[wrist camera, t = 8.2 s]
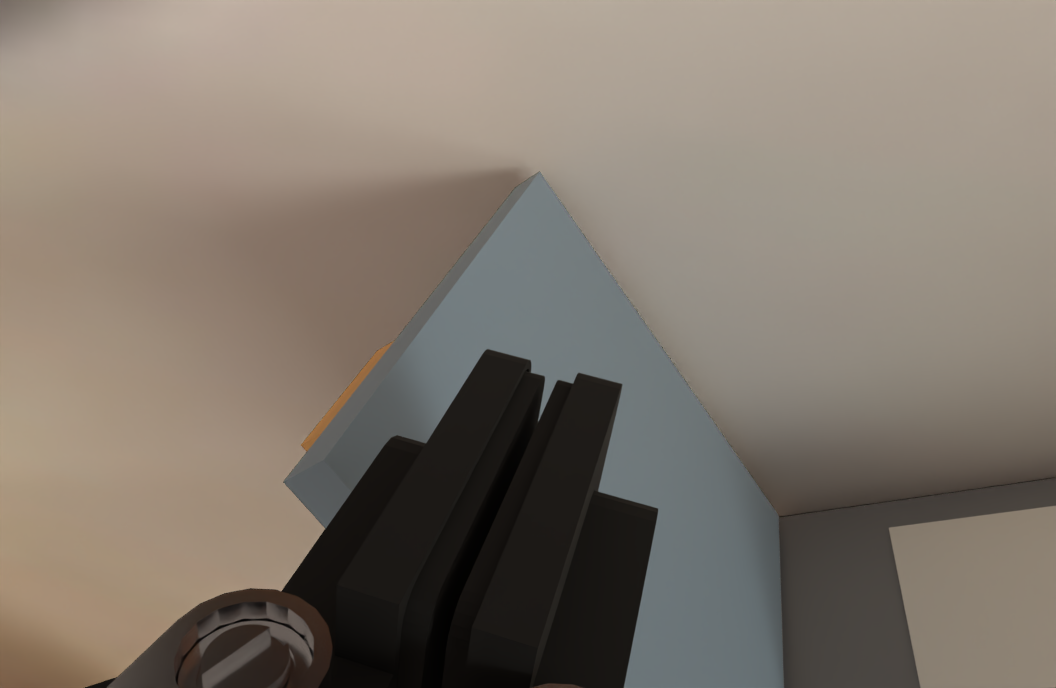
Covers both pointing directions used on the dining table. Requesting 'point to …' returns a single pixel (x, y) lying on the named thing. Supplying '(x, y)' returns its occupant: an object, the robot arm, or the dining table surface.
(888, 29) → the dining table surface
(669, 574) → the side door
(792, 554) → the box
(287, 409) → the dining table surface
